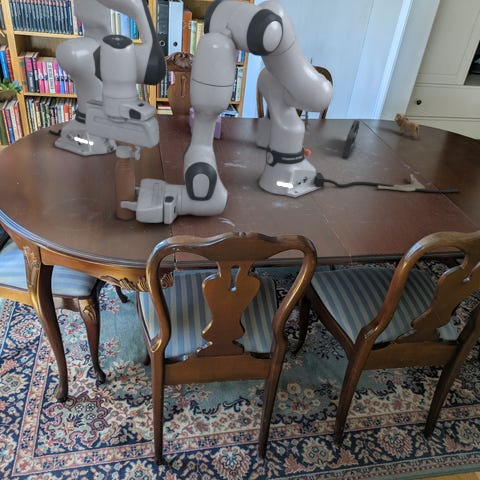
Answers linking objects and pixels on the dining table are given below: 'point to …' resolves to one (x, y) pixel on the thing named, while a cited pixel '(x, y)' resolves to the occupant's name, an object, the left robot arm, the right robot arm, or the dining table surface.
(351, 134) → the handheld gaming console
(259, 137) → the electronic device
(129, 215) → the bottle
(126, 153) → the cap
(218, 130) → the clip
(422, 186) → the jawbone
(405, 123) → the lion figurine
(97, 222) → the dining table surface
